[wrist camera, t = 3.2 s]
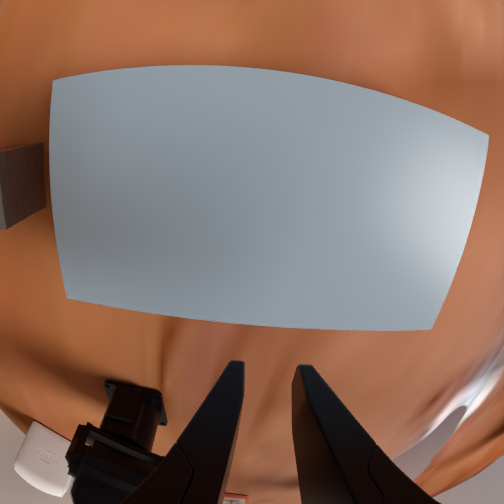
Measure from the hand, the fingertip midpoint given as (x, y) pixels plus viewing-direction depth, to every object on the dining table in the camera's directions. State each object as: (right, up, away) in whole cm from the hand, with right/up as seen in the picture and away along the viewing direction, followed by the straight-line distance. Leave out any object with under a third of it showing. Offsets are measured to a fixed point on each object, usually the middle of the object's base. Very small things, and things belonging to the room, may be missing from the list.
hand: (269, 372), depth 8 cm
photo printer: (-35, -29, +27) cm, 53 cm away
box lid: (0, +6, +5) cm, 8 cm away
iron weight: (-19, +10, +9) cm, 23 cm away
